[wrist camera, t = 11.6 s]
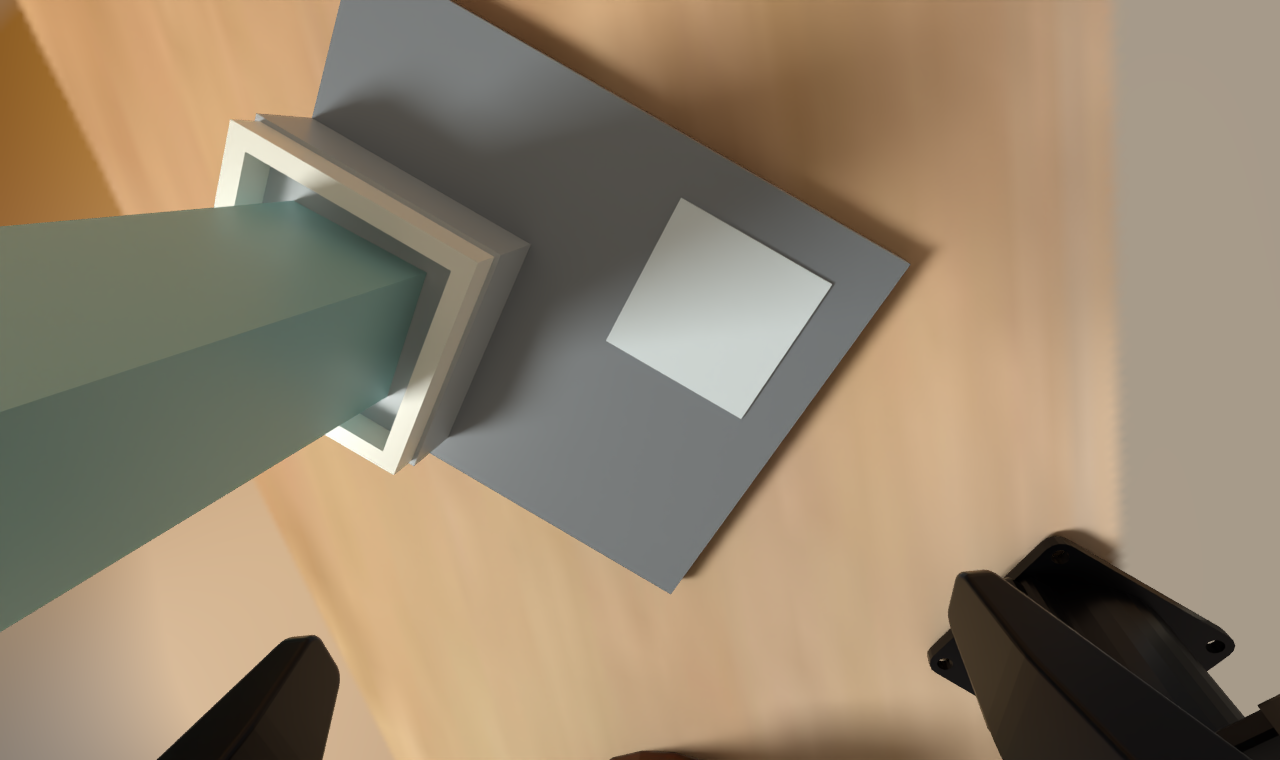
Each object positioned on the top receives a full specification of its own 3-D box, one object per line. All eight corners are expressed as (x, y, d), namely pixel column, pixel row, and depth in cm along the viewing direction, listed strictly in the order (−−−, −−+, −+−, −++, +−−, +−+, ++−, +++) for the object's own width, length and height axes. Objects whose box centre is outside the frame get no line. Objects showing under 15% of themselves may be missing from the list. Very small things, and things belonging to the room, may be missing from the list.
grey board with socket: (905, 260, 17) (938, 287, 14) (674, 580, 23) (654, 660, 19) (371, -46, 18) (264, -99, 14) (272, 344, 23) (177, 379, 20)
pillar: (426, 272, 18) (-494, 571, 5) (387, 396, 19) (-360, 849, 7) (293, 200, 18) (-941, 308, 5) (266, 330, 19) (-690, 652, 7)
